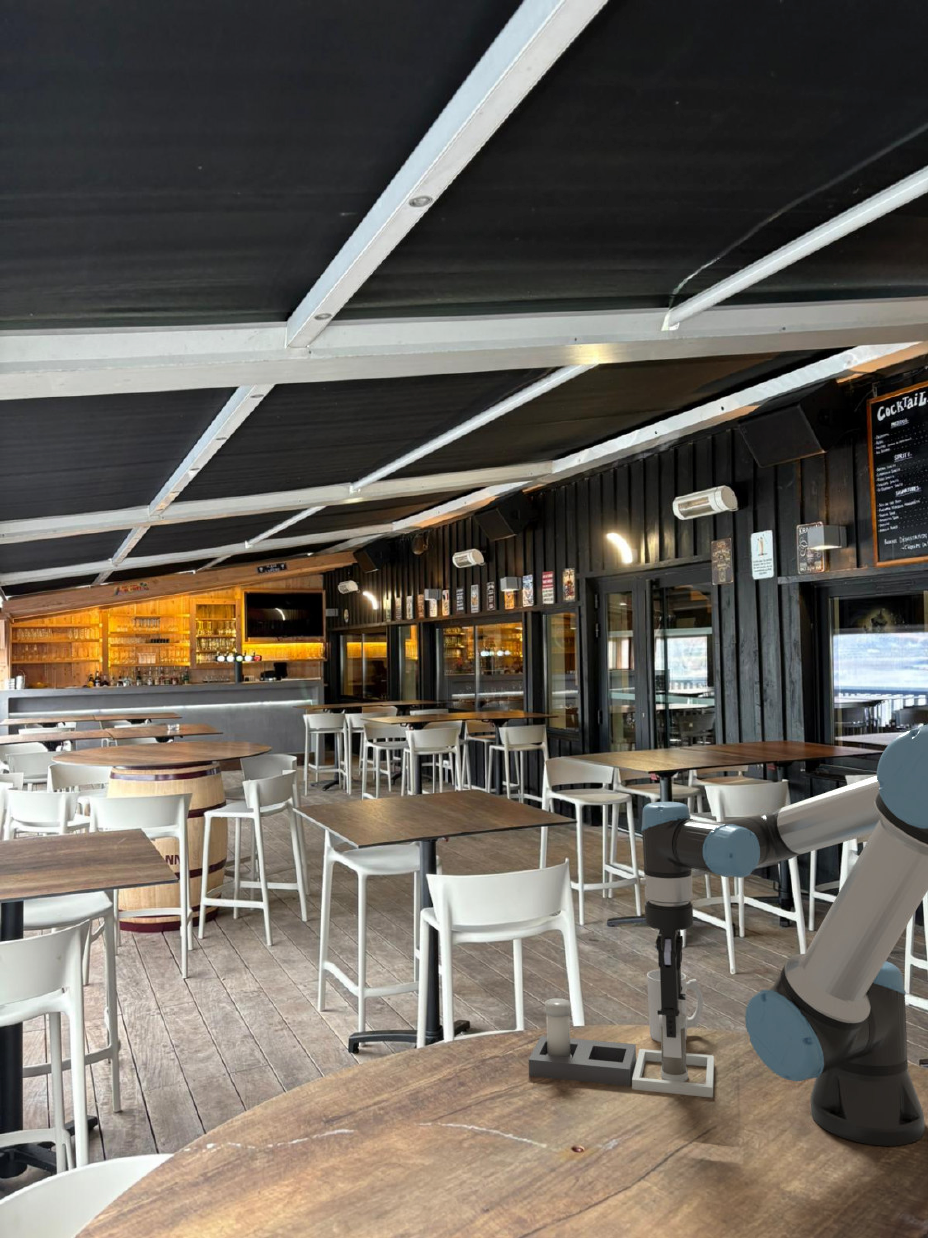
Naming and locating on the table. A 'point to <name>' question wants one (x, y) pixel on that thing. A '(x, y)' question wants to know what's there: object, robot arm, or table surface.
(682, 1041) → the fuse
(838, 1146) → the table surface
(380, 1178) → the table surface
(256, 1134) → the table surface
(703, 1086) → the tray
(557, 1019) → the peg
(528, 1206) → the table surface
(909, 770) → the robot arm
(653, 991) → the mug
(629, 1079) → the block
